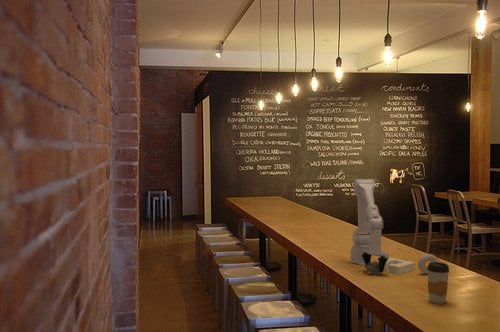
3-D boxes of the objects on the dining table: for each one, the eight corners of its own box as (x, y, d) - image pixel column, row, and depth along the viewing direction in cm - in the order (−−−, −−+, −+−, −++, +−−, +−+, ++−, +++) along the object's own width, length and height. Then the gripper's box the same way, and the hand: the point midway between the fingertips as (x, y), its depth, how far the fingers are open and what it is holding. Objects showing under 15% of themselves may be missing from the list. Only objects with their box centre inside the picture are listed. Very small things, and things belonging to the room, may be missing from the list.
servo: (364, 274, 247) (364, 263, 247) (377, 270, 254) (377, 259, 254) (371, 276, 244) (371, 264, 244) (384, 272, 251) (384, 261, 251)
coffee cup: (443, 298, 211) (444, 261, 210) (452, 304, 203) (453, 267, 202) (423, 298, 211) (424, 261, 210) (431, 304, 202) (431, 267, 202)
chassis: (374, 268, 258) (374, 261, 258) (390, 264, 267) (390, 257, 267) (399, 274, 247) (399, 267, 247) (414, 269, 256) (414, 262, 256)
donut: (419, 275, 246) (419, 254, 245) (416, 273, 249) (417, 253, 249) (440, 275, 246) (440, 254, 245) (437, 273, 249) (437, 253, 249)
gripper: (357, 241, 251) (357, 268, 252) (383, 246, 240) (382, 274, 241) (366, 239, 256) (366, 266, 257) (391, 244, 245) (391, 272, 246)
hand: (374, 270), depth 249 cm, fingers open, 7 cm apart
